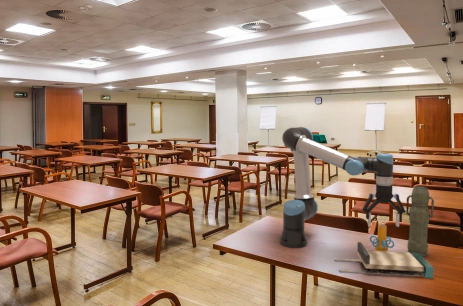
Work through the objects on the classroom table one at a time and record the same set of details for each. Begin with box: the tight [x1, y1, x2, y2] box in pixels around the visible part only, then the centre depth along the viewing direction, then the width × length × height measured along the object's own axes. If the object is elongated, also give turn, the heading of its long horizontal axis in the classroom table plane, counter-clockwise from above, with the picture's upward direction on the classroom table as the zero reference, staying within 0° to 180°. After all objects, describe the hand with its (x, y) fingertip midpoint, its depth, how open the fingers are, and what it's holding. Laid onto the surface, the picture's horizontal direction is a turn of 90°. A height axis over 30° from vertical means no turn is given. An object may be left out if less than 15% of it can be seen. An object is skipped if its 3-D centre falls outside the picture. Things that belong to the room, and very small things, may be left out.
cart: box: [356, 241, 424, 274], centre depth 154 cm, size 24×16×8 cm, turn 82°
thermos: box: [405, 185, 435, 259], centre depth 168 cm, size 9×12×35 cm
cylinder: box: [369, 224, 395, 252], centre depth 170 cm, size 12×10×15 cm
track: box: [334, 253, 435, 279], centre depth 154 cm, size 39×16×5 cm, turn 82°
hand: (383, 225), depth 169 cm, fingers open, 13 cm apart
